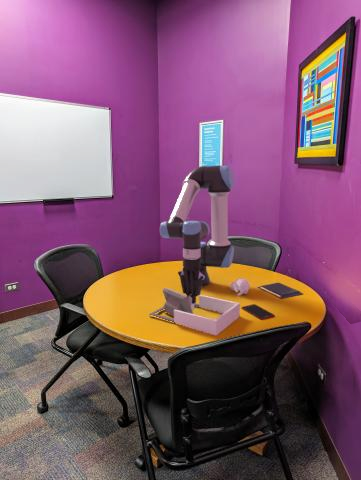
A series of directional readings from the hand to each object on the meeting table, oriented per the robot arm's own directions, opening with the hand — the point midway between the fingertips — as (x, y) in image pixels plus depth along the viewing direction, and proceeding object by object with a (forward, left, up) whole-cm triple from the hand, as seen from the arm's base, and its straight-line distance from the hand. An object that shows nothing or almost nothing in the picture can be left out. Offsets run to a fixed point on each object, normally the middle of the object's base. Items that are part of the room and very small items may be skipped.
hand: (191, 309), depth 150 cm
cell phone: (+23, +19, -4) cm, 30 cm away
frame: (-9, +1, -3) cm, 10 cm away
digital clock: (-7, -1, -3) cm, 8 cm away
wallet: (+22, +51, -4) cm, 56 cm away
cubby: (+7, +1, -3) cm, 7 cm away
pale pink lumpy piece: (+5, +37, -3) cm, 38 cm away
